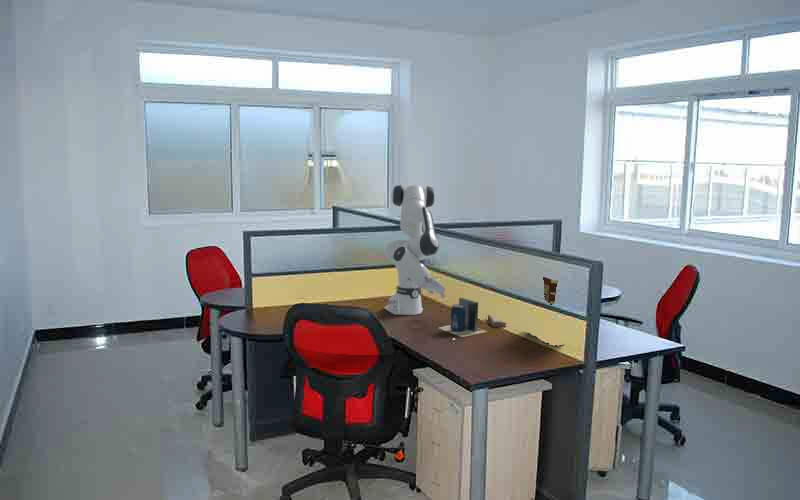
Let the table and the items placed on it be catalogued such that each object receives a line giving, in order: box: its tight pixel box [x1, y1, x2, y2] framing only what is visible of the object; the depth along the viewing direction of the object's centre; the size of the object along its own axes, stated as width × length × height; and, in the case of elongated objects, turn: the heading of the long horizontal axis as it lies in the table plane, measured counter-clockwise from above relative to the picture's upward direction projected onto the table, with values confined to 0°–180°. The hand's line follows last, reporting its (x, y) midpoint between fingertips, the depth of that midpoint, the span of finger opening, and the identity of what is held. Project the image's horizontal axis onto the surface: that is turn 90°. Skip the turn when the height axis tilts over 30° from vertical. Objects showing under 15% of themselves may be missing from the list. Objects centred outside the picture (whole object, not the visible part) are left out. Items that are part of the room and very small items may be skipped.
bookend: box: [458, 297, 483, 332], centre depth 302 cm, size 12×4×14 cm, turn 35°
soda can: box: [450, 303, 466, 332], centre depth 298 cm, size 7×7×12 cm
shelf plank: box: [438, 324, 488, 338], centre depth 301 cm, size 18×16×2 cm
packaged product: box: [487, 315, 507, 328], centre depth 313 cm, size 18×5×10 cm
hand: (438, 294), depth 291 cm, fingers open, 8 cm apart
